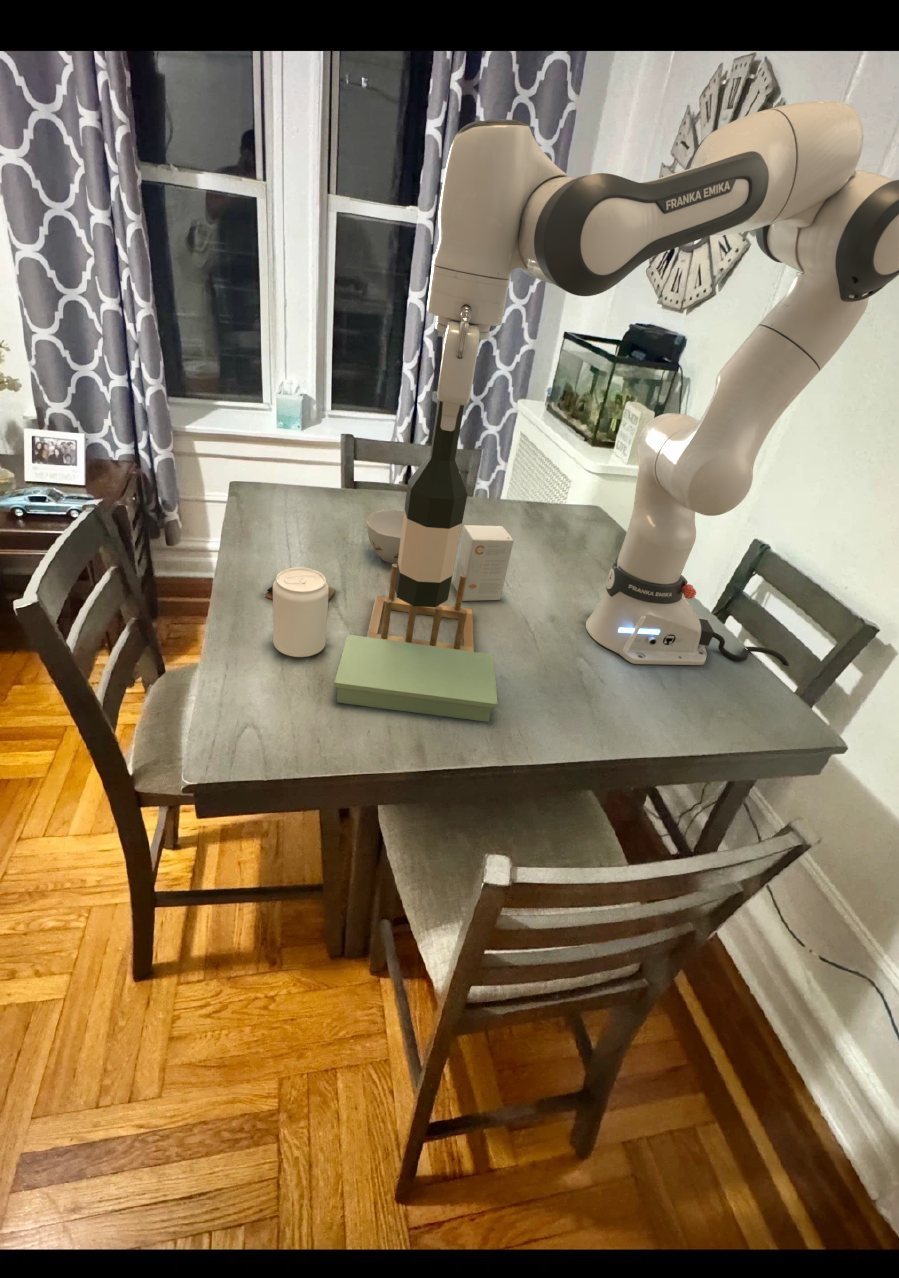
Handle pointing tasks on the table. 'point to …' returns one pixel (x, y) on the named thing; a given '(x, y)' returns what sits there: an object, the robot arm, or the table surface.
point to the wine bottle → (432, 522)
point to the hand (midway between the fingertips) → (447, 424)
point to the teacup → (386, 533)
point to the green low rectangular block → (416, 678)
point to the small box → (483, 561)
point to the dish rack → (456, 612)
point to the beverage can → (300, 612)
